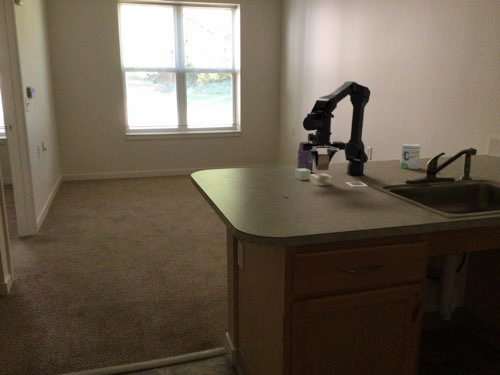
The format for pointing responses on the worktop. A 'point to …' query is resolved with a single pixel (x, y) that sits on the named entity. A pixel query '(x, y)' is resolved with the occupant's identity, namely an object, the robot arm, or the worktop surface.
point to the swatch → (356, 184)
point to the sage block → (302, 174)
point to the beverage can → (305, 160)
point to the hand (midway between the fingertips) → (321, 166)
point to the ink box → (410, 156)
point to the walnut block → (323, 162)
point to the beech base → (320, 179)
